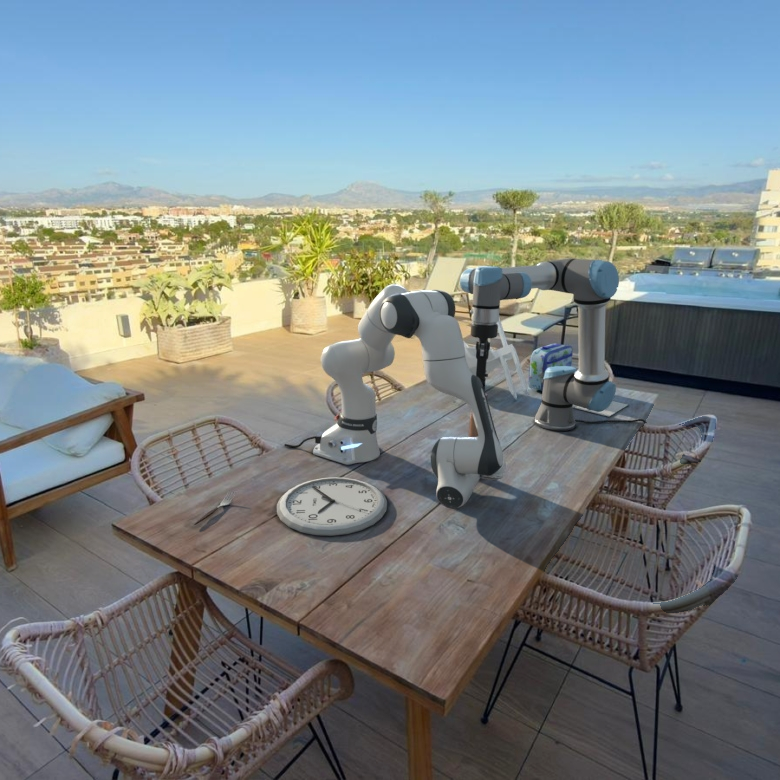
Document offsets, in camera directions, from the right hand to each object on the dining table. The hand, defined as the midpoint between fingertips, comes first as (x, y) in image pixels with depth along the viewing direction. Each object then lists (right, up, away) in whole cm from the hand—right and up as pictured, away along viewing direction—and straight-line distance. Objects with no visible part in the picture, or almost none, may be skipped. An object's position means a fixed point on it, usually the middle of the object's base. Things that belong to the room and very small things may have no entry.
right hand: (479, 400), depth 154 cm
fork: (-73, -29, -16) cm, 80 cm away
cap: (0, +2, -1) cm, 2 cm away
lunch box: (+50, +4, +98) cm, 110 cm away
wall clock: (-42, -28, -12) cm, 52 cm away
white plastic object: (+15, +2, +89) cm, 90 cm away
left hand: (0, -17, +6) cm, 18 cm away
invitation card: (+65, -4, +72) cm, 97 cm away
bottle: (0, -23, +7) cm, 24 cm away
